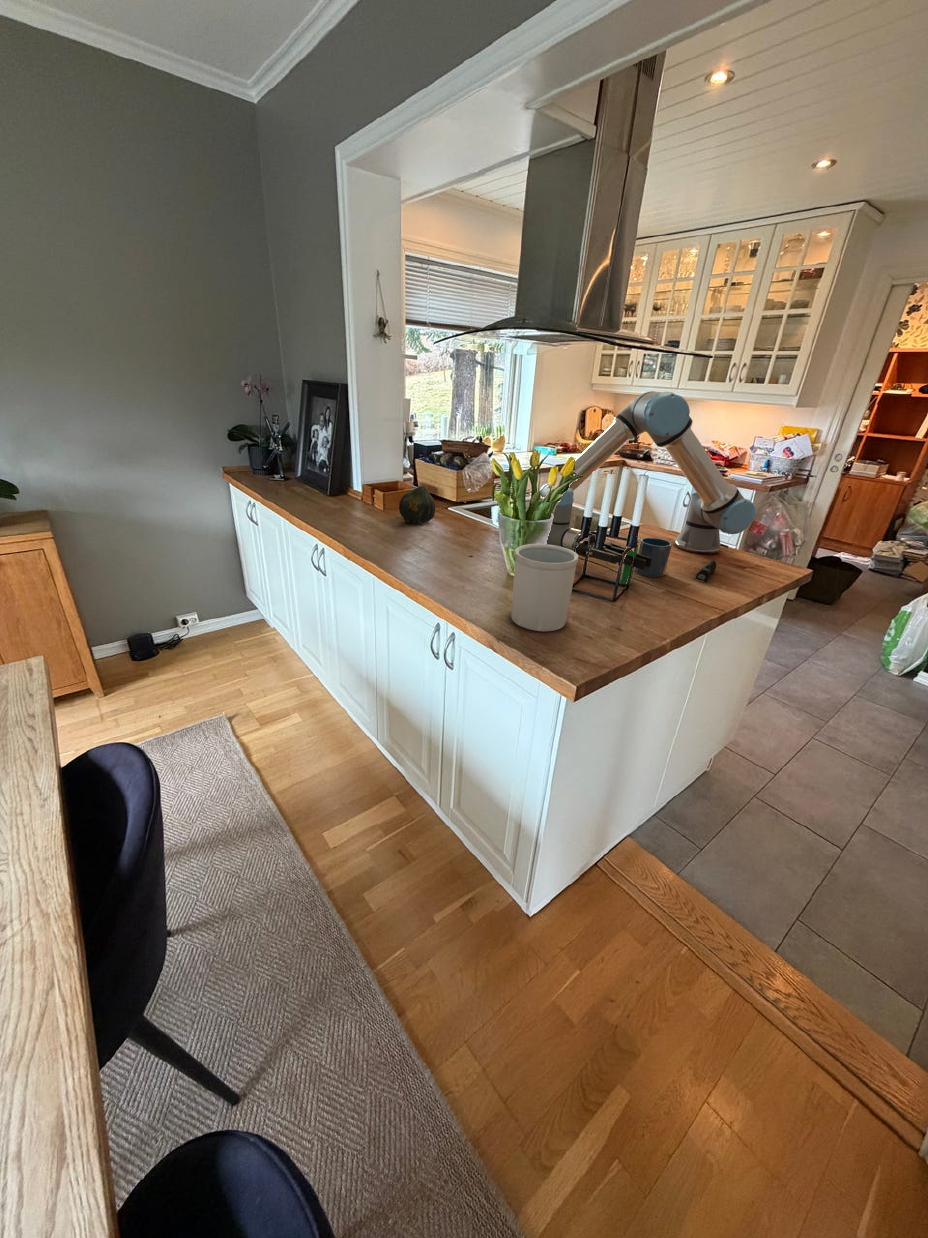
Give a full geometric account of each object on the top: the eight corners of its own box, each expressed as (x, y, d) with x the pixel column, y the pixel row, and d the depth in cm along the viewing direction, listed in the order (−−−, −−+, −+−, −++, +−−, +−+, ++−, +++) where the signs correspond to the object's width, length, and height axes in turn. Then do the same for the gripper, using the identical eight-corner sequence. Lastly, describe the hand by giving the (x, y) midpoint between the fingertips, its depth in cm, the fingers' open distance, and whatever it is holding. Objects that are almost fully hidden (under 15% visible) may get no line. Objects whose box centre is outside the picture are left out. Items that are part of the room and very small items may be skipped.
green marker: (630, 581, 147) (640, 537, 141) (630, 585, 144) (640, 539, 138) (620, 580, 148) (629, 535, 141) (620, 583, 145) (629, 538, 139)
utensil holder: (526, 601, 131) (532, 539, 123) (578, 617, 123) (588, 551, 115) (498, 621, 120) (503, 553, 112) (553, 639, 112) (562, 568, 104)
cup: (663, 569, 158) (670, 539, 153) (665, 578, 150) (672, 547, 146) (635, 565, 160) (641, 536, 156) (634, 574, 152) (641, 544, 148)
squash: (386, 509, 193) (410, 482, 186) (402, 503, 206) (424, 478, 199) (411, 535, 194) (435, 510, 187) (425, 527, 207) (448, 504, 200)
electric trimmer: (718, 570, 160) (720, 561, 158) (706, 582, 148) (709, 573, 147) (706, 567, 162) (708, 558, 160) (693, 579, 150) (696, 570, 149)
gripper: (593, 549, 161) (658, 570, 145) (563, 559, 151) (630, 582, 136) (596, 527, 157) (664, 546, 142) (566, 535, 148) (635, 556, 132)
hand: (647, 563), depth 139 cm, fingers closed on green marker, 3 cm apart
